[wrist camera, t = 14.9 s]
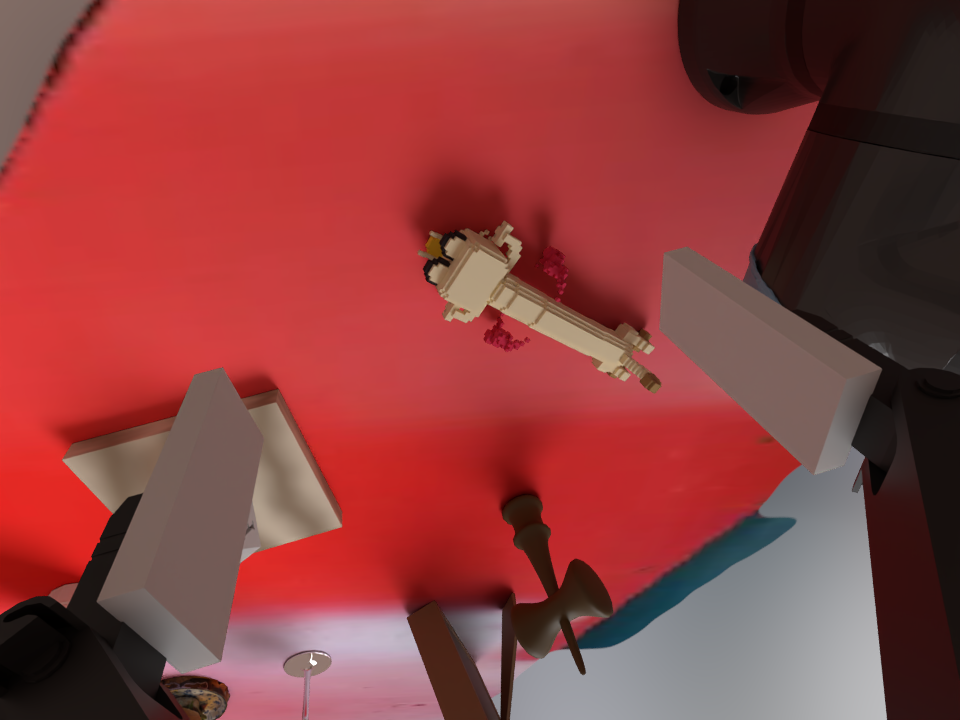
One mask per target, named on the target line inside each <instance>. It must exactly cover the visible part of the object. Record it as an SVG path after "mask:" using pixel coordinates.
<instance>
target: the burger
mask: <svg viewBox="0 0 960 720" xmlns="http://www.w3.org/2000/svg"><path fill="white" fill-rule="evenodd" d="M217 681H218V680H215V679H213V680H212V679H211V678H210V679H209V678H207V677H200V678H199V677H198V676H183V677H174V678H169V679H164V680H161V681H160V682H161V683H162V684H163V685H165V686H166V687H167V688H168V689H169V690H170V692H171V693H172V694H173V696H174V697H175V699H176V700H177V701H178V703H179V704H180V706H181V707H182V708H183V710H184V711H185V713H186V714H187V715H188V717H189V718H190V720H216V719H218V718H220V717H221V716H222V714H223V713H224V712H225V710H226V708H227V702H228V700H229V698H230V696H229V695H230V694H228V688H227V686H225V684H223V683H222V684H220V685H219V684H218V682H217Z"/></svg>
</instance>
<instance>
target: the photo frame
mask: <svg viewBox="0 0 960 720" xmlns="http://www.w3.org/2000/svg"><path fill="white" fill-rule="evenodd" d="M514 605H516V599H515V593H512V594H511V596H510V597H509V599H508V601H507V603H506V604H505V606H504V608H503V610H502V657H501V719H500V716H499V715H498V712H497V710H496V708H495V706H494V703H493V701H492V699H491V697H490V695H489V693H488V690H487V688H486V686H485V684H484V682H483V679H482V677H481V675H480V673H479V671H478V669H477V666H476V664H475V663H474V661H473V660H472V658H471V656H470V655H469V653H468V652H467V650H466V648H465V647H464V645H463V644H462V642H461V641H460V639H459V637H458V636H457V634H456V633H455V631H454V630H453V628H452V626H451V625H450V623H449V622H448V620H447V619H446V617H445V615H444V614H443V612H442V611H441V609H440V608H439V606H438V604H437V603H436V601H435V600H434V601H433V602H431V603H429V604H428V605H426V606H425V607H423V608H422V609H420V610H418V611H417V612H415V613H414V614H412V615H411V616H409V617H407V620H408V622H409V625H410V628H411V631H412V633H413V636H414V639H415V641H416V644H417V647H418V649H419V652H420V655H421V657H422V660H423V663H424V665H425V668H426V671H427V674H428V676H429V679H430V682H431V684H432V687H433V690H434V692H435V695H436V698H437V700H438V703H439V706H440V709H441V711H442V714H443V717H444V719H445V720H510V711H511V700H512V690H513V680H514V669H515V659H516V648H517V638H516V636H515V633H514V631H513V628H512V623H511V618H510V612H511V608H512V607H513V606H514Z"/></svg>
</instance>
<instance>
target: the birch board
mask: <svg viewBox="0 0 960 720" xmlns="http://www.w3.org/2000/svg"><path fill="white" fill-rule="evenodd" d="M241 400H242V401H243V403H244V405H245V406H246V408H247V410H248V411H249V413H250V415H251V417H252V418H253V420H254V422H255V423H256V425H257V427H258V429H259V430H260V432H261V434H262V435H263V437H264V442H263V447H262V452H261V457H260V462H259V467H258V473H257V478H256V483H255V488H254V493H253V498H252V501H253V506H254V512H255V517H256V522H257V527H258V533H259V538H260V543H261V547H260V548H259V549H258V550H256V551H255V552H259V551H262V550H265V549H269V548H272V547H276V546H279V545H282V544H286V543H289V542H293V541H296V540H299V539H303V538H306V537H309V536H313V535H316V534H320V533H323V532H326V531H330V530H333V529H336V528H340V527H342V511H341V509H340V507H339V505H338V503H337V501H336V499H335V497H334V495H333V493H332V491H331V490H330V488H329V486H328V484H327V482H326V480H325V478H324V476H323V474H322V472H321V470H320V468H319V466H318V464H317V462H316V461H315V459H314V457H313V455H312V453H311V451H310V449H309V447H308V445H307V443H306V441H305V439H304V437H303V435H302V433H301V432H300V430H299V428H298V426H297V424H296V422H295V420H294V418H293V416H292V414H291V412H290V410H289V408H288V406H287V404H286V403H285V401H284V399H283V397H282V395H281V393H280V391H279V389H276V390H273V391H269V392H265V393H261V394H257V395H254V396H250V397H246V398H242V399H241ZM175 419H176V416H175V417H171V418H167V419H163V420H160V421H156V422H152V423H148V424H145V425H141V426H137V427H133V428H130V429H126V430H122V431H118V432H114V433H111V434H107V435H103V436H99V437H96V438H92V439H88V440H84V441H81V442H77V443H73V444H72V445H71V447H70V448H69V450H68V451H67V453H66V454H65V456H64V457H63V459H62V461H63V462H64V463H65V464H66V465H67V466H68V467H69V468H70V469H71V470H72V471H73V472H74V473H75V474H76V475H77V476H78V477H79V478H80V479H81V481H82V482H83V483H84V484H85V485H86V486H87V487H88V488H89V489H90V490H91V491H92V492H93V493H94V494H95V495H96V496H97V497H98V498H99V499H100V500H101V502H102V503H103V504H104V505H105V506H106V507H107V508H108V509H109V510H110V511H111V512H112V513H113V514H114V513H115V511H116V510H117V509H118V508H119V507H120V506H121V504H122V503H123V502H124V501H125V500H126V499H127V498H128V497H130V496H134V495H137V494H141V493H144V491H145V488H146V486H147V484H148V481H149V479H150V477H151V474H152V472H153V470H154V467H155V465H156V463H157V460H158V458H159V456H160V454H161V451H162V449H163V447H164V444H165V442H166V440H167V437H168V435H169V433H170V430H171V428H172V426H173V423H174V421H175ZM255 552H254V553H255Z"/></svg>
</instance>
